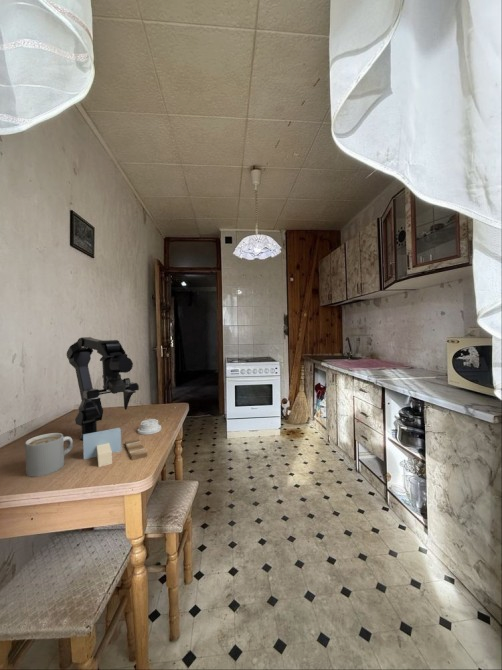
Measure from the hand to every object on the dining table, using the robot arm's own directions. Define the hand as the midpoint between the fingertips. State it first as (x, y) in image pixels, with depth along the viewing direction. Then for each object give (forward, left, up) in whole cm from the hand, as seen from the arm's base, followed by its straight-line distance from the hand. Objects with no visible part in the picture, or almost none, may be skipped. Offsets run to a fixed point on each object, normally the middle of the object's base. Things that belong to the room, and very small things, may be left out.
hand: (113, 412), depth 105 cm
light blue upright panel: (+9, -4, -14) cm, 17 cm away
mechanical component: (-9, +15, -14) cm, 23 cm away
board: (+8, +6, -13) cm, 17 cm away
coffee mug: (+5, -19, -14) cm, 24 cm away
